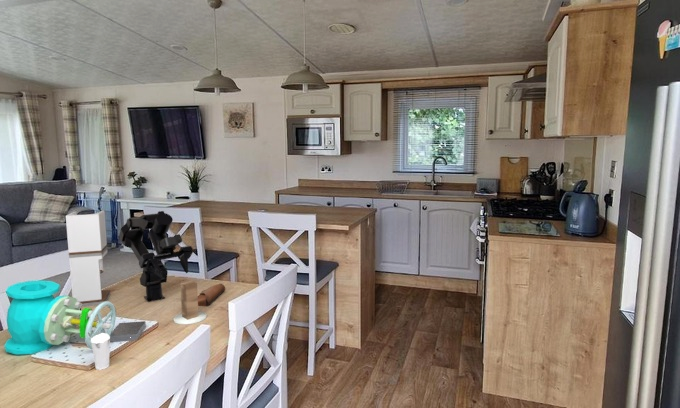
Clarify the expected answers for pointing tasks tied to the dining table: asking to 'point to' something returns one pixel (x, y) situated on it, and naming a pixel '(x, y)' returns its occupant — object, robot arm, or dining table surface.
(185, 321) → the ceramic coaster
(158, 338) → the dining table surface
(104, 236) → the tall white block
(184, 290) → the walnut post
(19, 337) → the valve
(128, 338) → the metal stand
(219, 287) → the sunglasses case
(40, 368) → the dining table surface
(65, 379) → the dining table surface
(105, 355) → the milkshake
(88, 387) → the dining table surface
